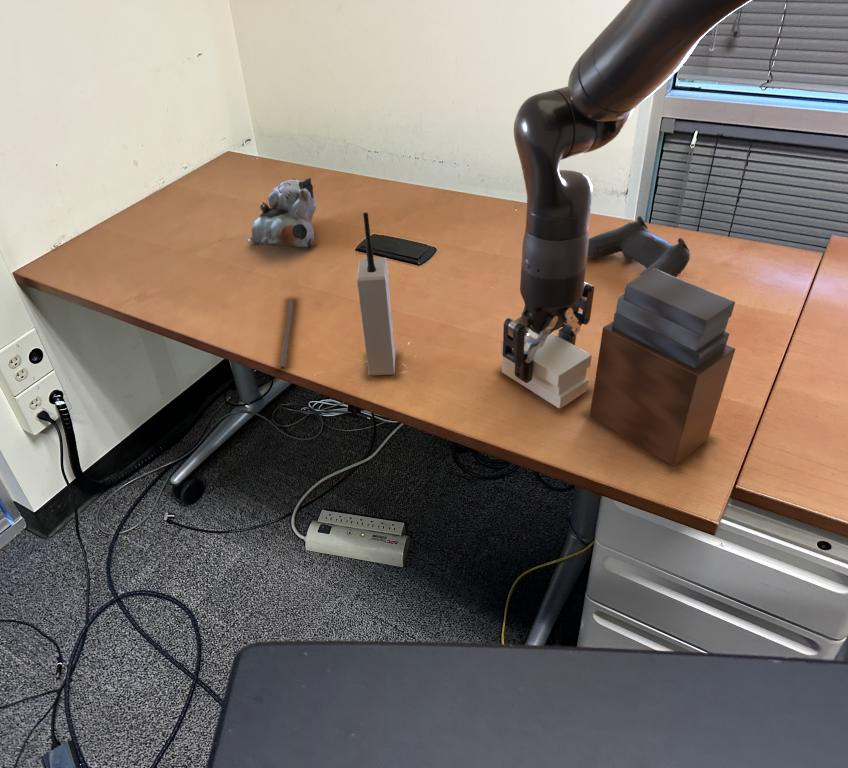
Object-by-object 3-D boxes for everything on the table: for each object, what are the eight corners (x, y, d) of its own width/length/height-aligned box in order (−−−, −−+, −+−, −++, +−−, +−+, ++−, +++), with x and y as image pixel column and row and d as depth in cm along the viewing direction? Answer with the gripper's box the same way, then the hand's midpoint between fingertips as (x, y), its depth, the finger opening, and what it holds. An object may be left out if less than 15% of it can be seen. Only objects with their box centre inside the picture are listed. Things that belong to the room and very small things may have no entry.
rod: (294, 301, 119) (293, 298, 118) (285, 369, 104) (285, 366, 104) (290, 301, 119) (289, 298, 118) (281, 370, 104) (280, 366, 104)
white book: (590, 366, 90) (592, 354, 88) (557, 387, 87) (559, 375, 86) (532, 334, 96) (533, 322, 95) (500, 353, 94) (501, 341, 93)
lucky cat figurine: (241, 240, 138) (248, 169, 134) (297, 247, 143) (306, 178, 139) (261, 250, 125) (270, 170, 121) (322, 256, 129) (333, 181, 126)
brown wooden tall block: (707, 440, 82) (750, 301, 70) (672, 467, 80) (710, 328, 67) (623, 392, 91) (647, 260, 78) (589, 415, 88) (609, 283, 75)
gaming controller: (656, 309, 107) (707, 265, 106) (646, 288, 103) (698, 242, 102) (587, 264, 120) (632, 223, 118) (576, 244, 116) (622, 201, 114)
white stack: (587, 390, 92) (590, 368, 89) (559, 409, 90) (562, 387, 87) (528, 356, 99) (530, 334, 96) (501, 372, 97) (502, 351, 94)
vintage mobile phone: (395, 354, 103) (381, 200, 87) (394, 375, 99) (379, 218, 83) (370, 355, 104) (352, 202, 88) (368, 376, 100) (349, 220, 84)
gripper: (535, 296, 77) (527, 404, 87) (619, 248, 82) (603, 356, 93) (487, 271, 82) (486, 376, 93) (570, 228, 87) (559, 332, 98)
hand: (544, 366), depth 93 cm, fingers open, 7 cm apart
